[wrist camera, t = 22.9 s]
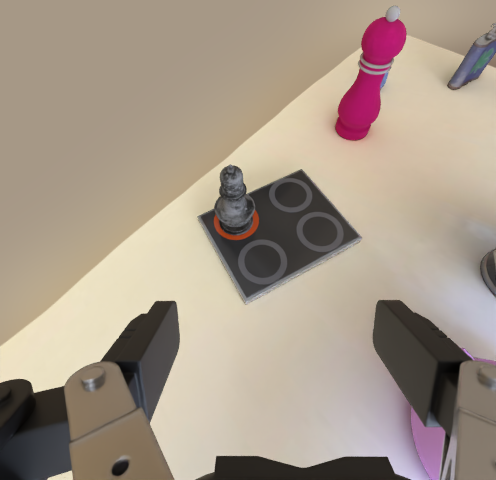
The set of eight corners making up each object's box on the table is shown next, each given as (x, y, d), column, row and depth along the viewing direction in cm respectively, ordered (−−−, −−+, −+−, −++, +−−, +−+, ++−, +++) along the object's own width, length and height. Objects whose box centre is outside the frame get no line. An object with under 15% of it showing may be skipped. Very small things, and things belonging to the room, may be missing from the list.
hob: (300, 173, 50) (302, 166, 49) (360, 241, 43) (363, 236, 42) (198, 220, 46) (196, 214, 44) (245, 305, 39) (245, 301, 37)
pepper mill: (334, 115, 57) (368, -8, 40) (370, 120, 56) (422, -4, 39) (330, 139, 54) (366, 16, 37) (369, 145, 53) (425, 21, 36)
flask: (454, 91, 60) (490, 35, 51) (442, 84, 62) (476, 28, 52) (481, 77, 63) (521, 20, 53) (469, 70, 64) (506, 14, 55)
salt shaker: (209, 218, 44) (195, 161, 33) (240, 199, 45) (235, 140, 35) (231, 244, 41) (223, 192, 31) (262, 223, 43) (265, 167, 33)
